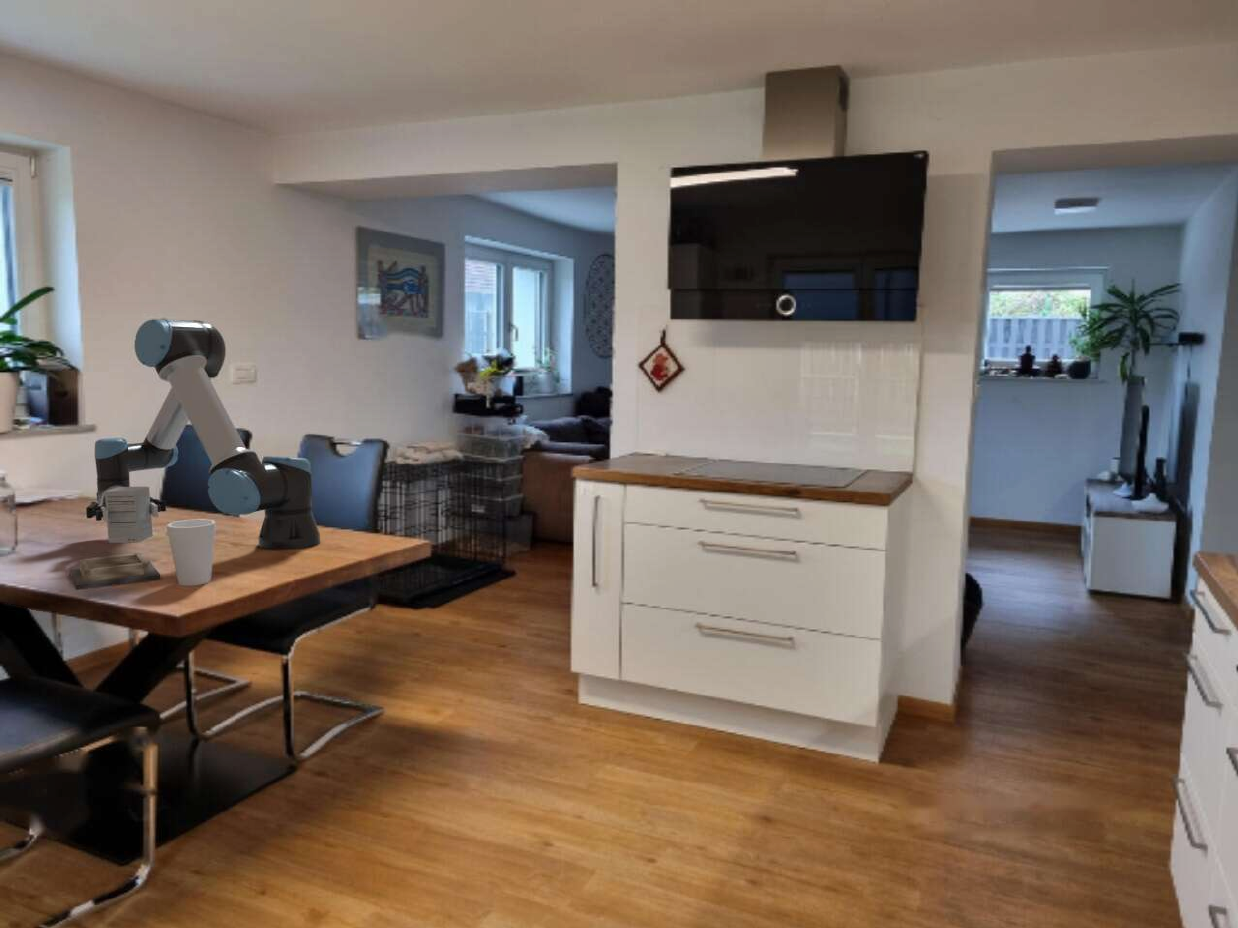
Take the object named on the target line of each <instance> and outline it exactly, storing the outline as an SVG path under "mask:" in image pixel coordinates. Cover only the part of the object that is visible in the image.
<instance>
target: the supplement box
mask: <svg viewBox="0 0 1238 928" xmlns="http://www.w3.org/2000/svg"><path fill="white" fill-rule="evenodd" d="M150 497H151V494H150V487H149V486H130V487H118V488H115V489H112V490H109V491H105V502H106V509H107V510H108V521H109V522H106V523H107V525H106V526H107V535H108V543H109V544H131V543H132V544H133V543H134V544H135V543H136V544H138V543H141V542H144V541H146V540H147V539H150V538H152V537H153V536H154V535H153V533H154V532H153V519H152V514H151V505H150Z"/></svg>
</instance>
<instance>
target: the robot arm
mask: <svg viewBox="0 0 1238 928" xmlns="http://www.w3.org/2000/svg"><path fill="white" fill-rule="evenodd" d="M226 348H227V347H226V343H225V340H224V337H223V335H222V334H221V332H220V331H219V330H218V329H217V328H216V327H215V326H213V325H212V324H211V323H209V322H206V321H203V320H194V319H193V320H184V319H167V318H164V317H163V318H157V319H156V318H153V319H147V320H146V321H144V322H143V323H142V324H141V325H140V326H139V328H138V329H137V331H136V334H135V340H134V352H135V355H136V358H137V359H138V361H139V362H140V363H141V365H144V366H146V367H149V368H154V369H155V371H156V373H157V375H158V377H159V379H161V380H162V381H165V382H168V383H169V384H170V386H171V387H170V390H169V392H168V393H167V395H166V398H165V399H164V402H163V403H162V405H161V408H160V409H159V411H158V413H157V415H156V417H155V419H154V421H153V423H152V425H151V427H150V429H149V431H148V433H146V436H145V438H144V440H143V441H142V442H138V443H136V442H135V443H127V442H128V441H127V439H126V438H123V437H110V438H108V437H107V438H99V439H97V440H96V441H95V442H94V460H95V468H96V487H97V489H96V490H97V491H96V493H95V494H96V501H92V502H90V504H89V505H88V506H87V507H85V510H86V511H85V513H86V514H85V515H86V519H92V518H94V517H95V521H97V522H101V521H102V520H103V522H104V523H107V522H109V521H108V510H107V509H106V502H105V491H109V490H112V489H115V488H118V487H131V484H130V473H131V472H139V471H146V470H153V469H154V470H155V469H165V468H166V467H172V466H173V465H174V464H176V463H177V461H178V459H179V457H178V455H179V449H178V446H177V443H178V441H179V439H180V438H181V435H182V434H183V432H184V429H185V428H186V426H187V425H188V422H189V423H190V424H191V426H192V429H193V431H194V432H195V435H196V436H197V437H198V439H199V441H200V443H201V445H202V447H203V449H204V451H205V453H206V455H207V457H208V458H209V460H210V463H211V465H210V467H209V470H208V473H209V475H210V476H209V478H208V481H207V486H208V487H209V488H208V489H207V493H208V497H209V499H210V501H211V502H212V504H213V506H215V508H217V509H218V510H219V511H221V512H222V513H224V514H227V515H229V516H239V515H242V516H243V515H244V516H246V515H250V514H253V513H256V512H260V511H264V517H263V521H262V524H261V528H260V530H259V531H260V532H259V535H258V546H259V547H260V548H262V549H267V550H278V551H279V550H297V549H304V548H311V547H312V546H317V545H318V544H320V543H321V533H320V531H319V528H318V526H317V523H316V519H315V517H314V515H313V499H312V497H313V495H312V474H313V473H312V471H311V462H310V461H309V460H308V459H306V458H304V457H291V456H289V457H288V456H270V455H269V456H263V457H262V461H260V459H259V456H258V454H257V452H255V451H253V450H251V449H248V448H247V447H246V446H245V444H244V442H243V440H242V437H241V436H240V435H239V432H238V430H237V429H236V427H235V425H234V423H233V421H232V419H231V417H230V415H229V413H228V412H227V410H226V408H225V406H224V404H223V402H222V400H221V398H220V396H219V394H218V392H217V390H216V389H215V387H214V384H213V383H212V379H214V378H216V377H218V376H219V373H220V372H221V370H222V368H223V366H224V362H225V359H226V352H227V351H226V350H227V349H226ZM166 503H167V502H166V500H162V499H159V498H158V499H157V498H153V497H151V496H150V505H151V516H153V517H154V518H158V517H159V513H161V512H166V511H167V504H166Z"/></svg>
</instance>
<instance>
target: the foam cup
mask: <svg viewBox="0 0 1238 928" xmlns="http://www.w3.org/2000/svg"><path fill="white" fill-rule="evenodd" d="M166 533H167V535H166V536H167V537H168V540H169V544H170V549H171V554H172V559H173V563H174V564H173V565H174V569H175V574H176V578H177V581H178V582H177V583H178V585H180V586H185V587H186V586H189V587H190V586H198V585H199V586H200V585H204V584H207V583H210V582H211V580H212V571H213V563H214V562H213V560H214V551H215V550H214V548H215V537H216V533H217V523H216V521H215V520H213V519H202V518H201V519H198V518H197V519H196V518H195V519H185V520H177V521H176V520H175V521H173V522H169V523H168V524H166Z"/></svg>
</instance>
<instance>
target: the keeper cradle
mask: <svg viewBox="0 0 1238 928" xmlns="http://www.w3.org/2000/svg"><path fill="white" fill-rule="evenodd" d="M68 575H69V577H70V580H71V582H72V585H73V587H74V589H75V591H78V590H79V591H80V590H86V589H95V588H96V589H97V588H103V587H110V586H111V587H112V586H117V585H124V584H126V585H127V584H133V583H141V582H149V581H157V580H162V577H161V575H162V574H161V573H160V572H159V570H157V568H156V567H155V566H154V565H153V563H152V562H150V560H147V559H146V558H145V557H144V556H143V555H142V553H141V552H136V553H126V554H118V555H111V556H110V555H109V556H100V557H92V558H83V559H79V568H76V569H69V570H68Z"/></svg>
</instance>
